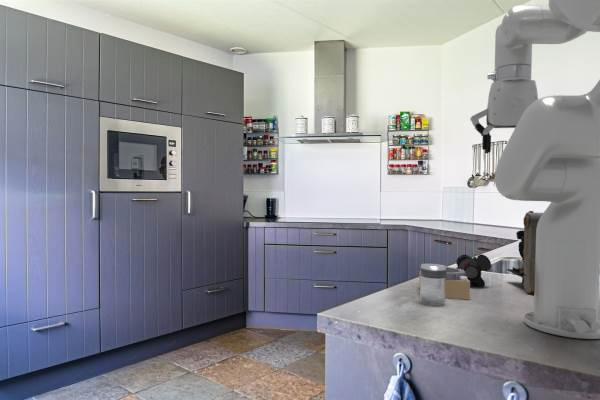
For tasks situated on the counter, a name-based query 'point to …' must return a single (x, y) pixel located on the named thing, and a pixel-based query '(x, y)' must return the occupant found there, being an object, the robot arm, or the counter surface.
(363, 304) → the counter surface
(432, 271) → the lens
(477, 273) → the night vision scope
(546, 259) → the robot arm
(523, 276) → the vintage camera
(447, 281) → the mount
